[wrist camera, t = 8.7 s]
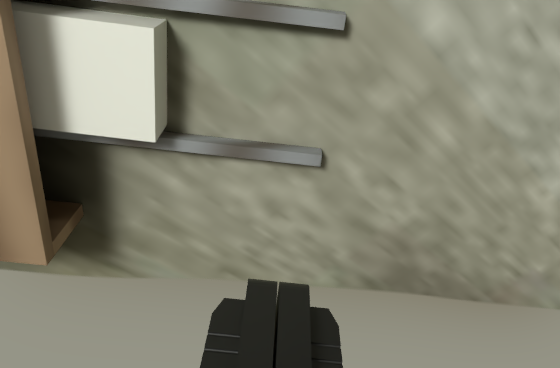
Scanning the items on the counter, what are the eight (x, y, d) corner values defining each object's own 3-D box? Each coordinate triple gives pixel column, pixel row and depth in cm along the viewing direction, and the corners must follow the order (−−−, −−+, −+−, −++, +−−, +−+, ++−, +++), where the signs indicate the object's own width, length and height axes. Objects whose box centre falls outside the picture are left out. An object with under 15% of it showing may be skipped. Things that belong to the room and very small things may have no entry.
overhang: (367, -127, 22) (389, -144, 17) (305, 238, 33) (308, 291, 28) (-117, -191, 21) (-237, -227, 16) (-17, 205, 32) (-71, 253, 27)
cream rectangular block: (168, 18, 26) (153, 28, 23) (168, 122, 29) (155, 142, 26) (-46, -10, 25) (-88, -3, 22) (-22, 99, 28) (-57, 117, 26)
